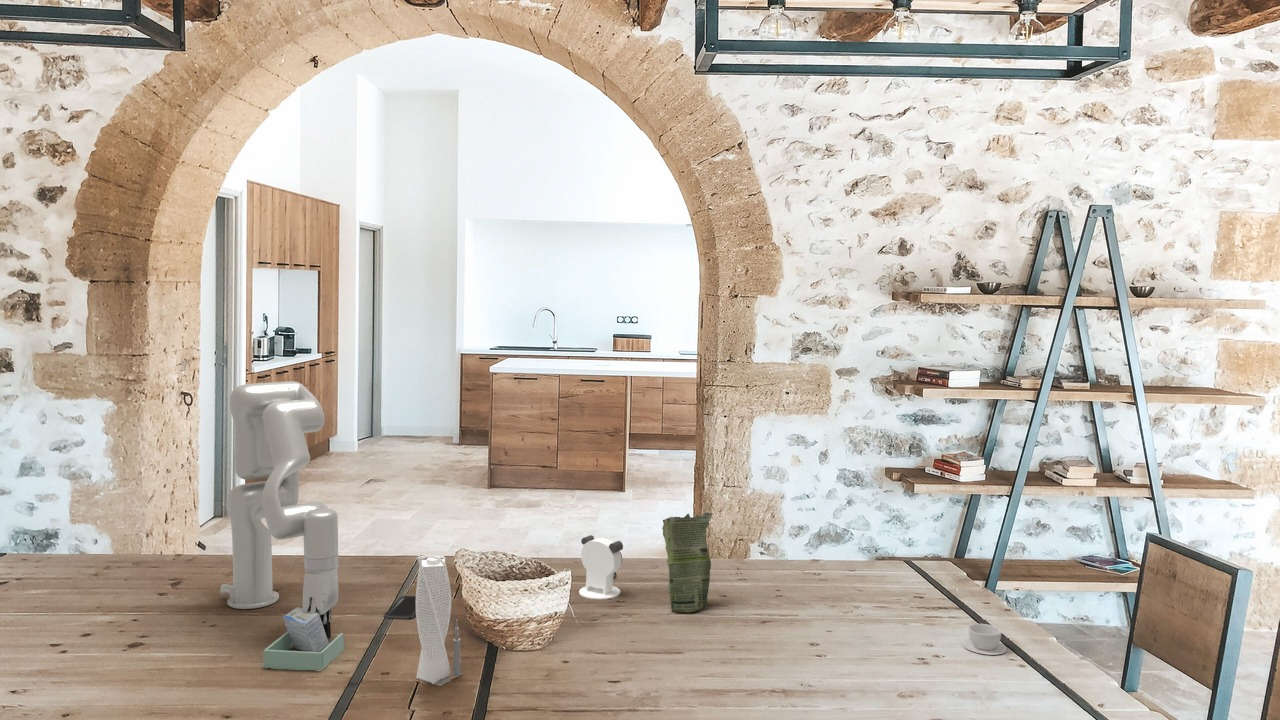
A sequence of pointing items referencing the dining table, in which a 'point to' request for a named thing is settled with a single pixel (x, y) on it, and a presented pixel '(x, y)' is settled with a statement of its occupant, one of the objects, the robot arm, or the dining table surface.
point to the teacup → (984, 640)
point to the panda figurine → (600, 567)
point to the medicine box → (305, 630)
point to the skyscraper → (435, 621)
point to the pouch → (687, 561)
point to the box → (300, 655)
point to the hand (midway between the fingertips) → (322, 638)
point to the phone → (403, 609)
